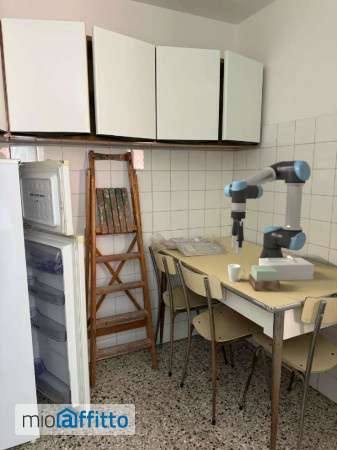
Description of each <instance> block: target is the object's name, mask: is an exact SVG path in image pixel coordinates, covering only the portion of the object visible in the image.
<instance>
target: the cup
mask: <svg viewBox="0 0 337 450" xmlns="http://www.w3.org/2000/svg"><path fill="white" fill-rule="evenodd" d="M240 269H243V274H242V275H241V276H240V277H239V275H240V271H241V270H240ZM245 269H246V268H244V266H241V265H239V264H237V263H230V264H227V270H228V271H227V272H228V278H229V281H230V282H237V281H239V280H241V279H242V278H244V277H245V275H246V270H245ZM238 277H239V278H238Z"/></svg>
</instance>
